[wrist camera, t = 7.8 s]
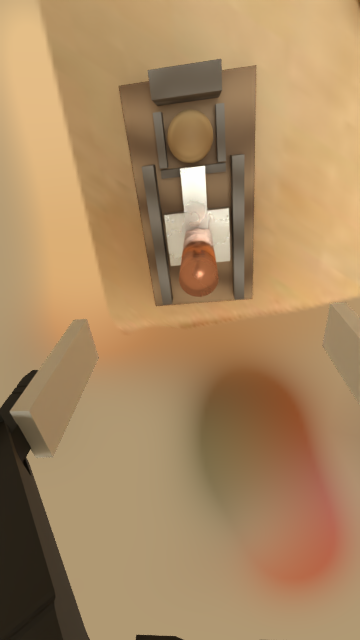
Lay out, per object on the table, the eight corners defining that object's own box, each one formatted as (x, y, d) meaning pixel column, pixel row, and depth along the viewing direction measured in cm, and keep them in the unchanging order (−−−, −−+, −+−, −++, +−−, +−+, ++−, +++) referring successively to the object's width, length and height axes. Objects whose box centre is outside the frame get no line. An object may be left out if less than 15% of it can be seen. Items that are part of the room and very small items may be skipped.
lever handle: (159, 169, 32) (138, 182, 20) (226, 161, 31) (243, 170, 20) (171, 262, 37) (160, 314, 26) (229, 257, 36) (243, 308, 25)
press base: (121, 87, 29) (106, 76, 24) (254, 68, 28) (265, 51, 23) (156, 302, 41) (151, 322, 37) (250, 294, 40) (258, 315, 35)
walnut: (166, 114, 29) (162, 110, 25) (210, 108, 29) (213, 103, 25) (171, 164, 31) (168, 167, 28) (213, 159, 31) (215, 161, 27)
